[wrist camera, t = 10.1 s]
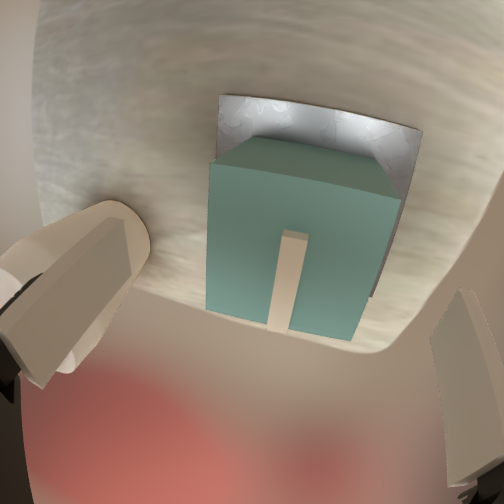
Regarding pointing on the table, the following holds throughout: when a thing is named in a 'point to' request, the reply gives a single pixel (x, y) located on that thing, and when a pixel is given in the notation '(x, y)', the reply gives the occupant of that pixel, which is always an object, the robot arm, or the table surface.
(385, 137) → the shaft fixture
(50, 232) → the cup
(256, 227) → the teal block
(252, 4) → the table surface
